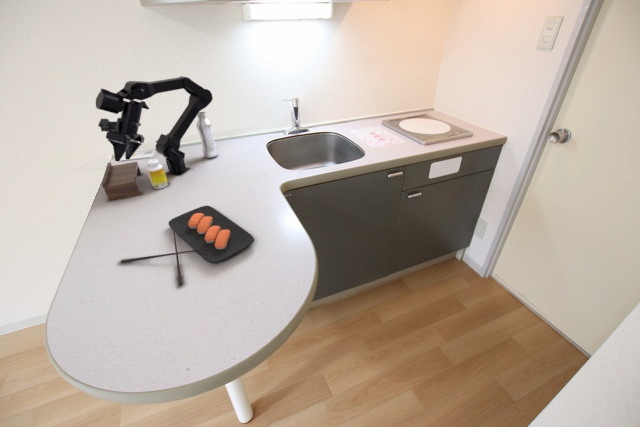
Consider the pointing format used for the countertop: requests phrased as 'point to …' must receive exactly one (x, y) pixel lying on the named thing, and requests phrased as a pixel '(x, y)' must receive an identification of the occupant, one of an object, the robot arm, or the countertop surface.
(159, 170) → the supplement bottle
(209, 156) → the plastic bottle
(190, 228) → the sushi plate
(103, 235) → the countertop surface
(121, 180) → the shelf
